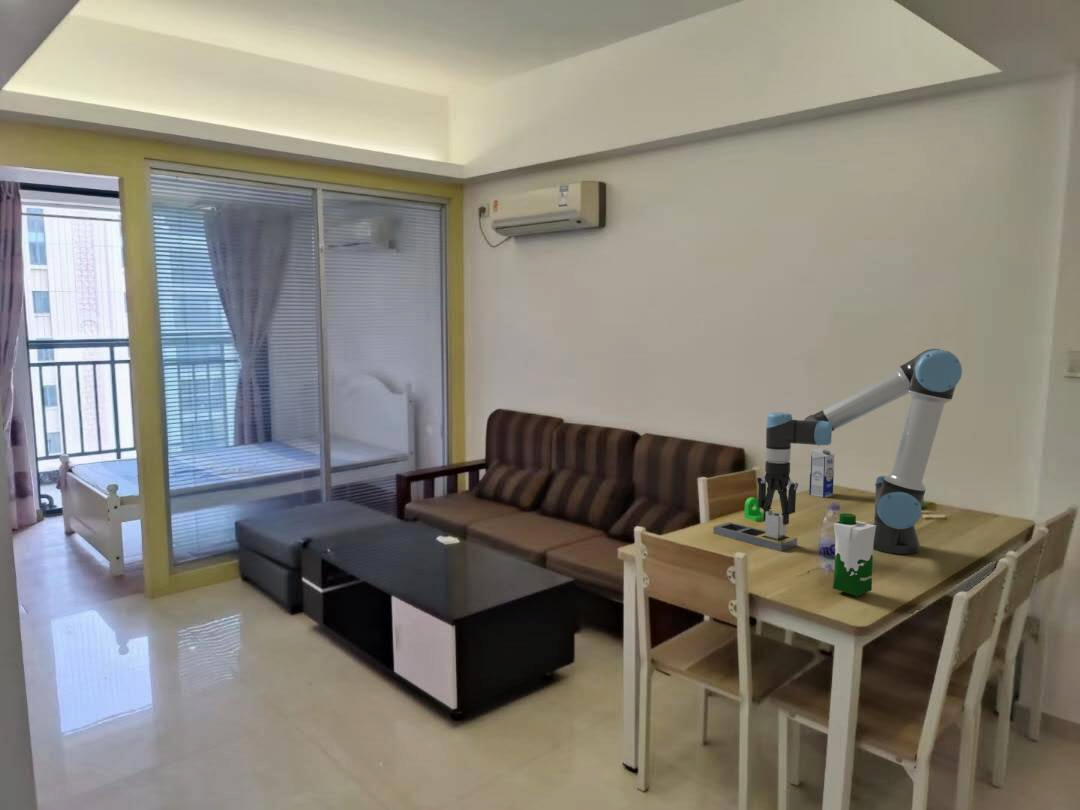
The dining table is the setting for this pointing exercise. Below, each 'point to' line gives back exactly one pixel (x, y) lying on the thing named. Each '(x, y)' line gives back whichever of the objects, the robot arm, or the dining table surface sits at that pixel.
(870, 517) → the dining table surface
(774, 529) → the block
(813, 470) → the milk carton
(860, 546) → the soya milk
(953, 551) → the dining table surface
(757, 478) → the robot arm
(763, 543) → the grey slotted tray
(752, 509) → the mechanical part
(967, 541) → the dining table surface
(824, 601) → the dining table surface
